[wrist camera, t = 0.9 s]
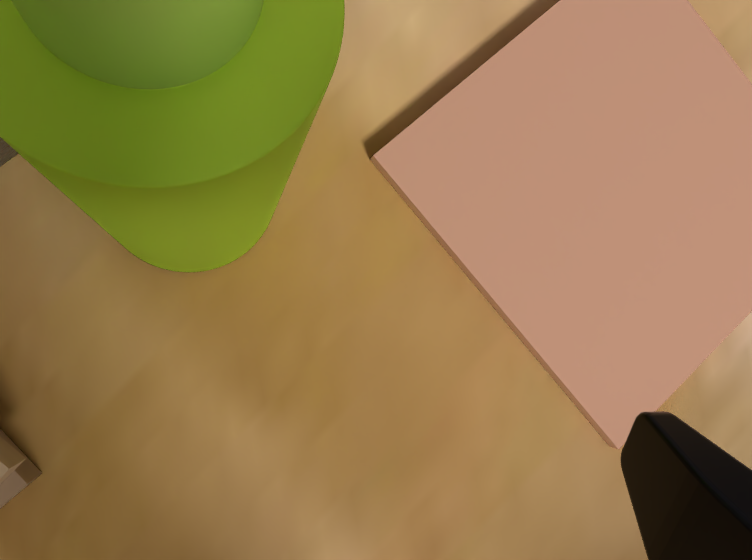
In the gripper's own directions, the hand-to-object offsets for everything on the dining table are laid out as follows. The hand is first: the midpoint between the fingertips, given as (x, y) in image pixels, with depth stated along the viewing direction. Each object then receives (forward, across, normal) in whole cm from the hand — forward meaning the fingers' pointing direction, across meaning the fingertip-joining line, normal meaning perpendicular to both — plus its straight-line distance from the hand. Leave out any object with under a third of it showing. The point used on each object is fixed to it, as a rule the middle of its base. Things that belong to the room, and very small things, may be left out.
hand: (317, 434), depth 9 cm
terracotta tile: (+16, -12, +3) cm, 20 cm away
